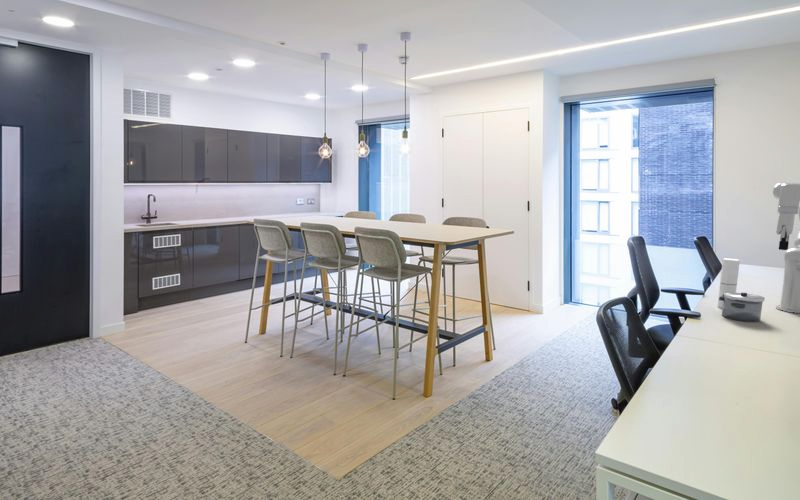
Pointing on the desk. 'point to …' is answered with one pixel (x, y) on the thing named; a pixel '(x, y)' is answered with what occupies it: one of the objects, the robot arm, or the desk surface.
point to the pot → (741, 310)
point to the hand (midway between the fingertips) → (783, 249)
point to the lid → (744, 297)
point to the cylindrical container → (728, 277)
